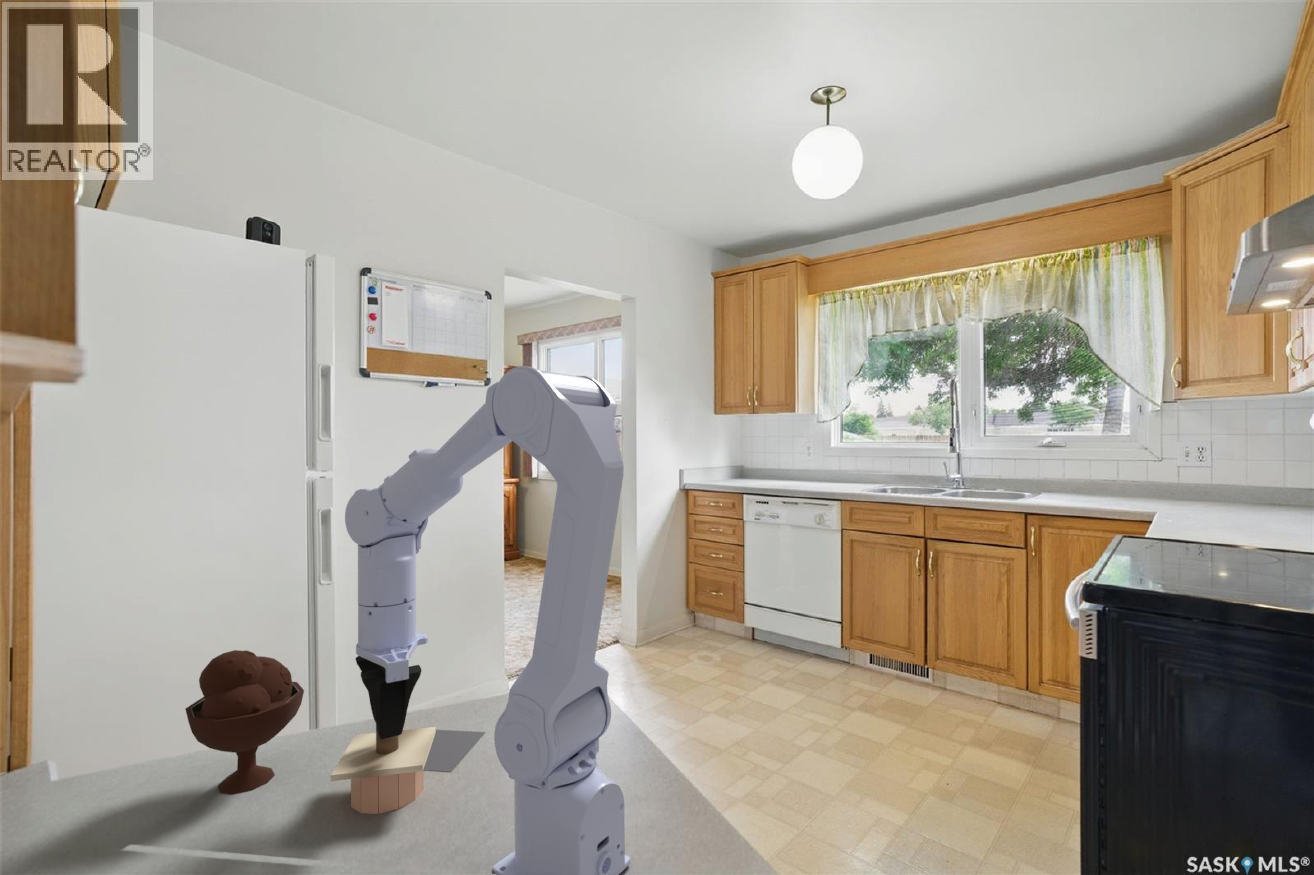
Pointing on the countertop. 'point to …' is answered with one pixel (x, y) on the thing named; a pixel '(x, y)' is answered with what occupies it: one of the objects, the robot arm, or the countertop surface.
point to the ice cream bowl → (243, 712)
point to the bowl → (385, 792)
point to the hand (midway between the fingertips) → (387, 727)
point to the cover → (385, 754)
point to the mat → (450, 749)
